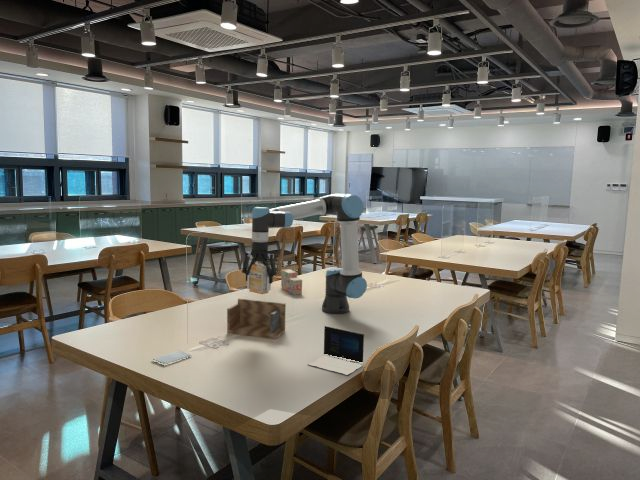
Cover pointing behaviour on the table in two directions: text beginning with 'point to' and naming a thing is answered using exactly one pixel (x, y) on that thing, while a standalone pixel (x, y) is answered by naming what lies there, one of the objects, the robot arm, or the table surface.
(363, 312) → the table surface
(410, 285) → the table surface
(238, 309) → the small wooden side table
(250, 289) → the supplement box
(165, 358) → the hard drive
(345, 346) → the laptop
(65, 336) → the table surface
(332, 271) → the robot arm
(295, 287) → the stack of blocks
